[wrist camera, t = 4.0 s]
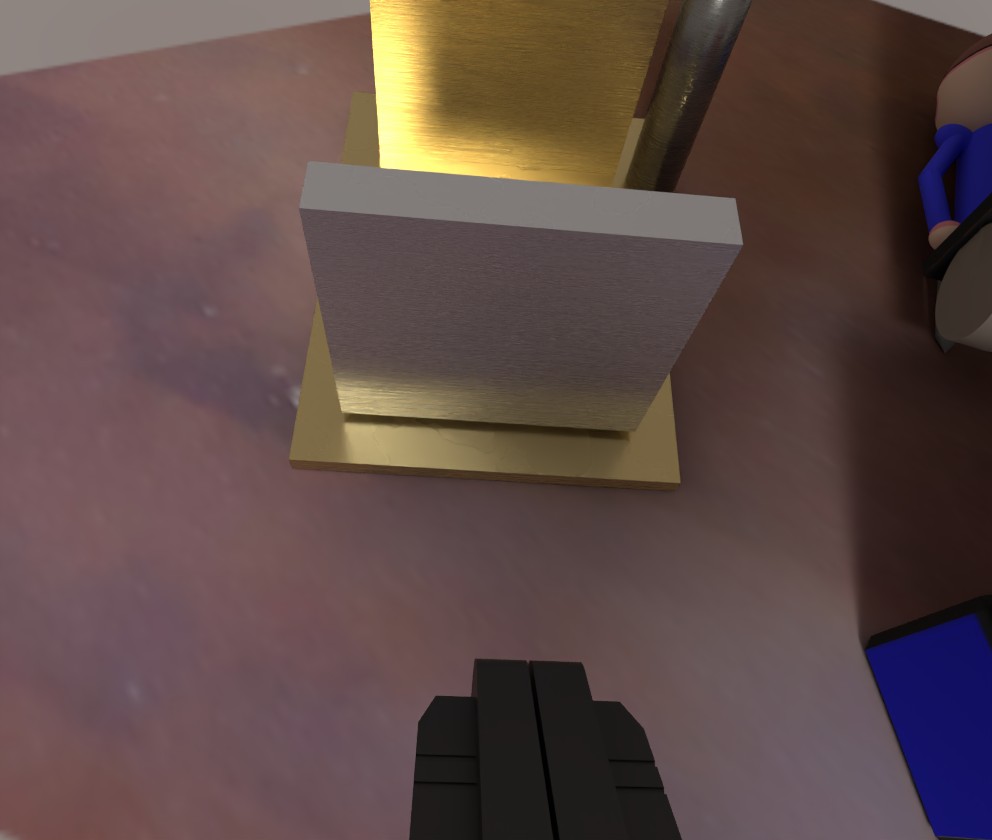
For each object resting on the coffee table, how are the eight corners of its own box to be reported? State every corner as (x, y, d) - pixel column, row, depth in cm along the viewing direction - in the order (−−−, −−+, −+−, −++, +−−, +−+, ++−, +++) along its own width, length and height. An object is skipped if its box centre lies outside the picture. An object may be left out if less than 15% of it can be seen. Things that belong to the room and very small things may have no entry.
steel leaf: (632, 395, 22) (735, 198, 14) (635, 431, 21) (742, 245, 14) (346, 376, 21) (308, 161, 14) (342, 412, 20) (298, 207, 13)
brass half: (662, 133, 28) (768, -161, 20) (704, 492, 21) (897, 282, 13) (354, 105, 27) (323, -215, 19) (292, 468, 20) (196, 225, 12)
